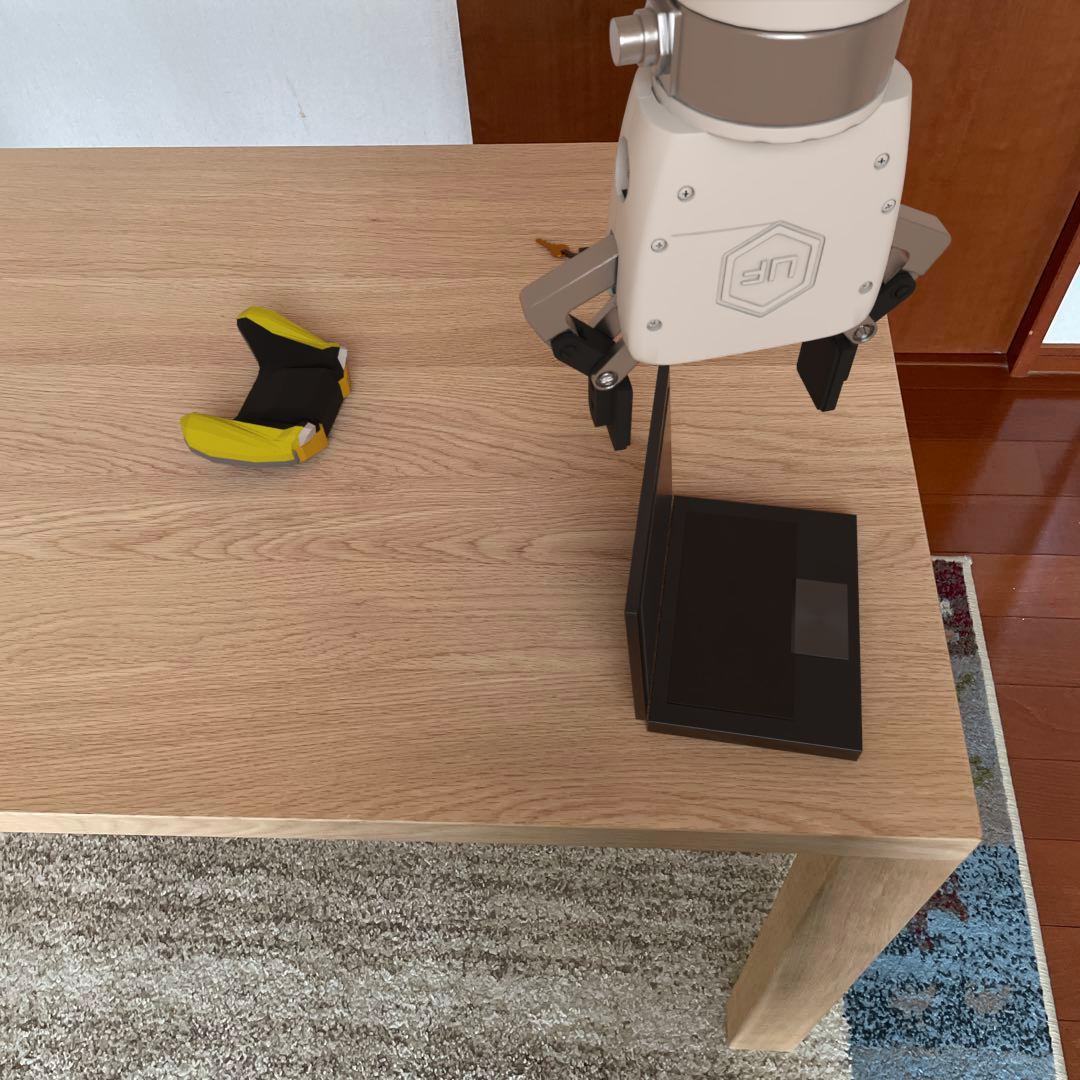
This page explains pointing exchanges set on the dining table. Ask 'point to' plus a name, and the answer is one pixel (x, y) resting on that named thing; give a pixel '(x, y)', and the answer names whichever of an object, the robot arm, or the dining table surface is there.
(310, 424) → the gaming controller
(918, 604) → the dining table surface
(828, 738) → the laptop
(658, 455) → the screen
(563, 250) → the key tag
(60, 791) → the dining table surface
